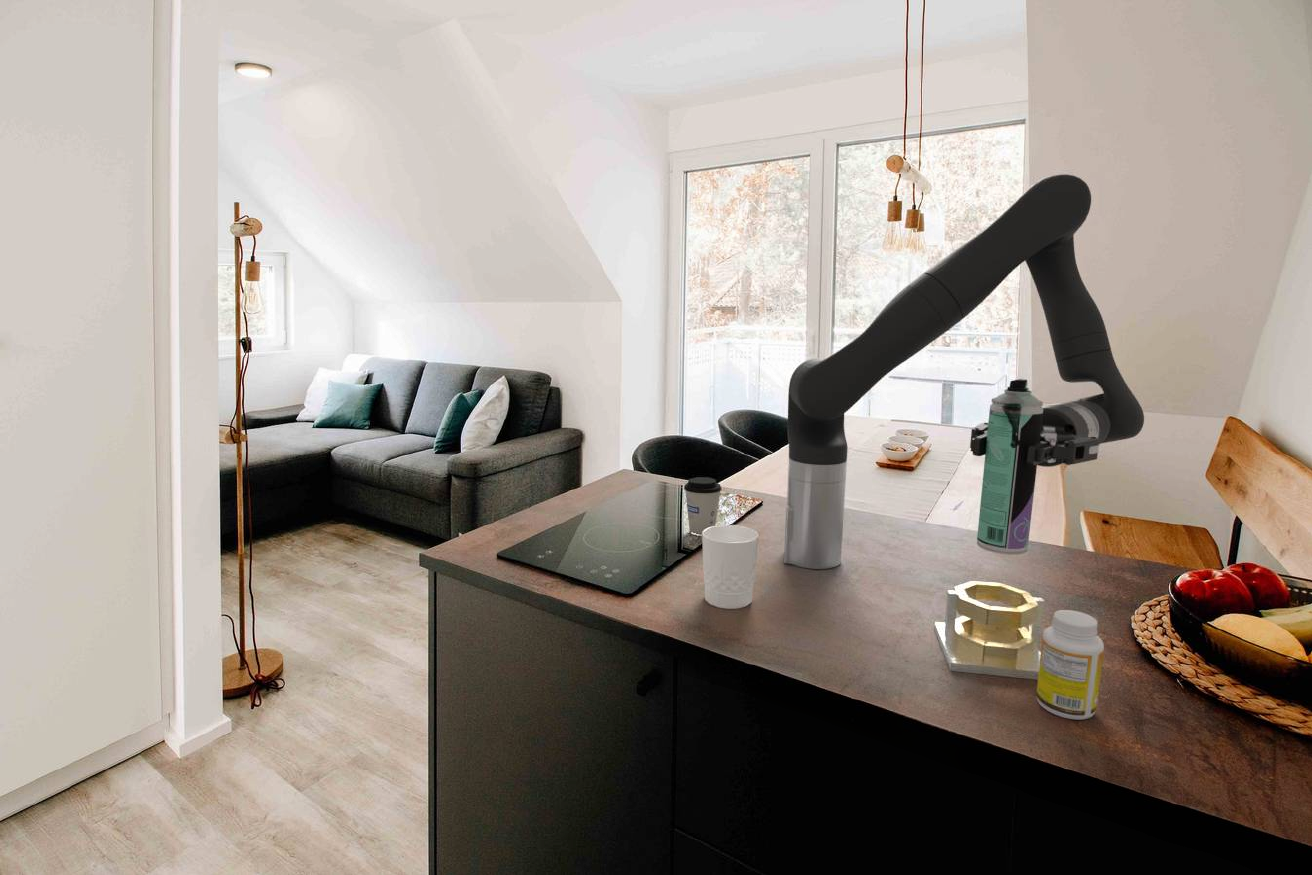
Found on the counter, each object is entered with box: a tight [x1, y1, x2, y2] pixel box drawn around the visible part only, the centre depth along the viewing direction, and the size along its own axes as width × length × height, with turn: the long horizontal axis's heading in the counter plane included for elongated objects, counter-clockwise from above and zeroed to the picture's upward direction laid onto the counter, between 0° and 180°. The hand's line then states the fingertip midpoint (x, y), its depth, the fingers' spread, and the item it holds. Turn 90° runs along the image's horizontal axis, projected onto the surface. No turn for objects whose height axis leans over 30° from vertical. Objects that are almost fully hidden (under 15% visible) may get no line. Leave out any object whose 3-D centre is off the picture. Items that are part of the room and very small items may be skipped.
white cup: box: [701, 524, 759, 610], centre depth 101 cm, size 8×8×10 cm
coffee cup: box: [683, 476, 722, 534], centre depth 131 cm, size 7×7×10 cm
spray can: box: [976, 378, 1044, 556], centre depth 82 cm, size 6×6×20 cm
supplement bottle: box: [1035, 609, 1105, 721], centre depth 74 cm, size 6×6×10 cm
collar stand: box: [933, 580, 1045, 681], centre depth 86 cm, size 11×11×8 cm
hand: (1003, 451), depth 80 cm, fingers closed on spray can, 5 cm apart
